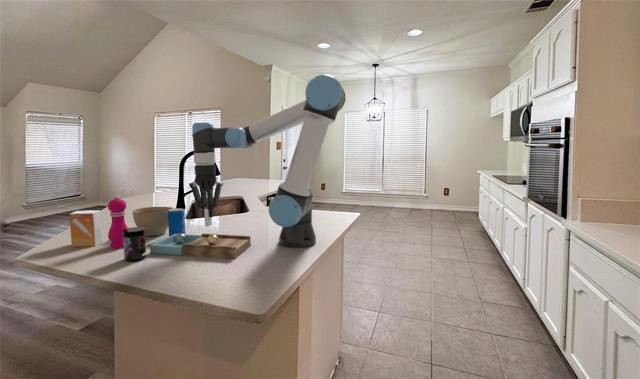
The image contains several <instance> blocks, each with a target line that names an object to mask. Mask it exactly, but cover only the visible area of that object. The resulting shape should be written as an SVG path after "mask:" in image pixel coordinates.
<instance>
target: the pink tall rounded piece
mask: <svg viewBox="0 0 640 379" xmlns="http://www.w3.org/2000/svg"><path fill="white" fill-rule="evenodd" d="M107 209H108V210H109V217H111V225H110V227H109V230H108V235H107V238H108V239H109V241H110V243H109V247H110V248H111V249H113V250H115V249H116V250H117V249H118V250H119V249H124V248H123V236H122V230H123V229H126V228H129V227H128V226H127V224H126V220H125V216H126V211H125V210H126V209H127V203H126V201H125V200H123V199H121V198H120V195H118V194H115V195H114V196H113V199H111V200H110V201H109V202H108V203H107Z"/></svg>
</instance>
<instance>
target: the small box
mask: <svg viewBox="0 0 640 379" xmlns="http://www.w3.org/2000/svg"><path fill="white" fill-rule="evenodd" d="M69 223H70V224H69V226H70V239H71V240H70V241H71V247H72V248H75V247H76V248H77V247H96V246H98V245H99V244H101V243H102V242H103V236H102V222H101V210H97V209H94V210H91V209H90V210H76V211H73V212H71V213H69Z"/></svg>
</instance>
